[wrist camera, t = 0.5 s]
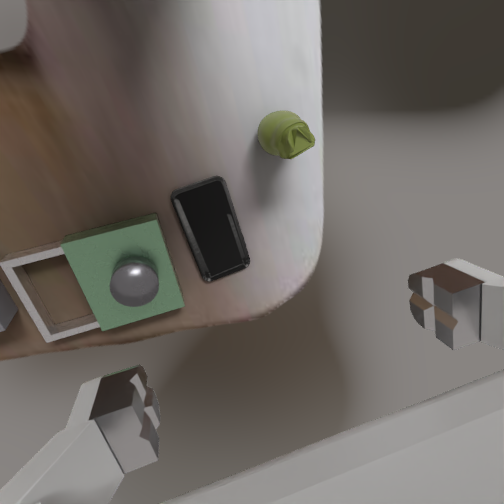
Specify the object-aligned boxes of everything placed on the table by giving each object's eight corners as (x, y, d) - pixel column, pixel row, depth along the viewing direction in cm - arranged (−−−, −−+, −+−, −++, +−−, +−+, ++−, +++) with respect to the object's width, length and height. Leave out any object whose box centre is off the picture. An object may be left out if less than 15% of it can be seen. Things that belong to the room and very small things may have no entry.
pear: (283, 102, 45) (315, 104, 36) (296, 140, 48) (330, 150, 39) (245, 122, 45) (269, 129, 36) (261, 159, 47) (287, 174, 39)
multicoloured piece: (4, 251, 43) (-16, 272, 38) (156, 212, 46) (157, 227, 41) (52, 334, 50) (41, 362, 44) (183, 295, 53) (186, 317, 48)
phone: (205, 283, 52) (168, 193, 45) (204, 280, 53) (168, 191, 46) (252, 265, 53) (224, 174, 46) (250, 262, 54) (222, 172, 47)
